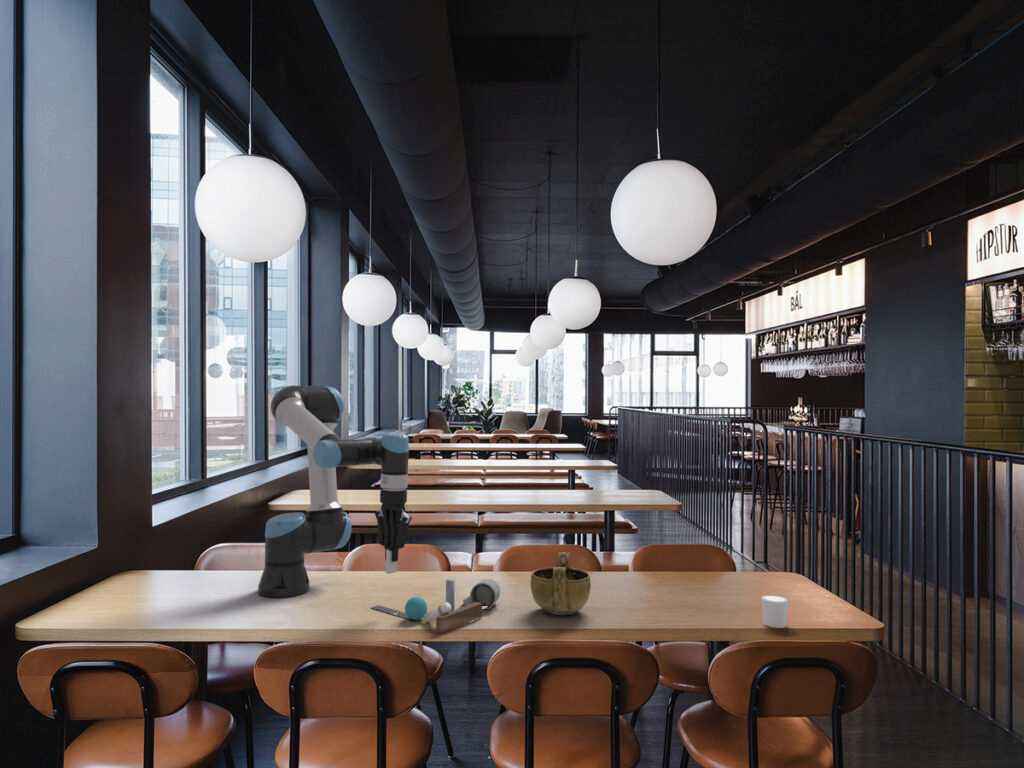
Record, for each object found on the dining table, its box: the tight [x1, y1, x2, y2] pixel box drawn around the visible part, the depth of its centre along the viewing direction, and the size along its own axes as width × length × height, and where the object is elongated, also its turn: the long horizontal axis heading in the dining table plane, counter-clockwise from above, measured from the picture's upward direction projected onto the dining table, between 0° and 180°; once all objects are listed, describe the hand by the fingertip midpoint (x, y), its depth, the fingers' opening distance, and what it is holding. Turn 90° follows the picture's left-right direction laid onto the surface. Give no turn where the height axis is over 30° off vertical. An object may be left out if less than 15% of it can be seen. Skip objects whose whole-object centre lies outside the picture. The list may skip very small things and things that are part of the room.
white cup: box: [760, 594, 789, 629], centre depth 176 cm, size 7×7×7 cm
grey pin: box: [445, 578, 456, 613], centre depth 183 cm, size 2×2×9 cm
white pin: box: [422, 601, 451, 623], centre depth 172 cm, size 2×2×9 cm
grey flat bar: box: [370, 604, 410, 620], centre depth 182 cm, size 16×3×1 cm, turn 53°
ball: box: [404, 596, 428, 621], centre depth 177 cm, size 6×6×6 cm
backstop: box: [435, 602, 483, 635], centre depth 173 cm, size 2×16×4 cm, turn 143°
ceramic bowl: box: [530, 551, 591, 616], centre depth 184 cm, size 22×17×15 cm
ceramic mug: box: [462, 578, 501, 610], centre depth 190 cm, size 11×8×8 cm
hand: (391, 572), depth 183 cm, fingers closed
